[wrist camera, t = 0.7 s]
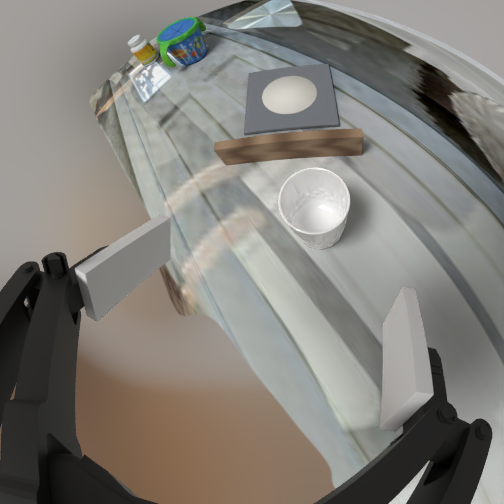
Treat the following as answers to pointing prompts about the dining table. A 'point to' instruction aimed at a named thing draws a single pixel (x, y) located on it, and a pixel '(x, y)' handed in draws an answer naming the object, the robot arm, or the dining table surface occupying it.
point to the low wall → (291, 146)
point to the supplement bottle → (143, 50)
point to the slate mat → (290, 99)
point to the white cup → (315, 206)
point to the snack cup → (183, 41)
